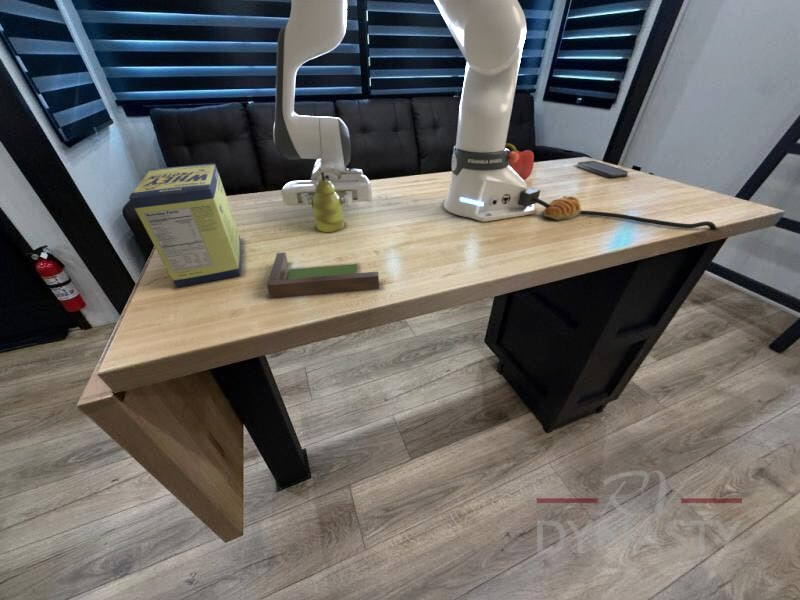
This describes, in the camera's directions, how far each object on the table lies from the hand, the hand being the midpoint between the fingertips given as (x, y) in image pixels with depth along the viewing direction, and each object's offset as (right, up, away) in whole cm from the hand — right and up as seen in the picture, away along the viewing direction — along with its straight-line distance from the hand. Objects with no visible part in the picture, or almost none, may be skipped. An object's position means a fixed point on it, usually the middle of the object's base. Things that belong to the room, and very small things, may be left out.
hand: (327, 204), depth 69 cm
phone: (+84, +23, +39) cm, 95 cm away
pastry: (+55, 0, +10) cm, 56 cm away
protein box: (-20, -14, -8) cm, 25 cm away
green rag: (+2, -17, -13) cm, 21 cm away
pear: (0, -4, +4) cm, 6 cm away
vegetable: (+51, +17, +32) cm, 62 cm away
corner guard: (+3, -16, -12) cm, 21 cm away
